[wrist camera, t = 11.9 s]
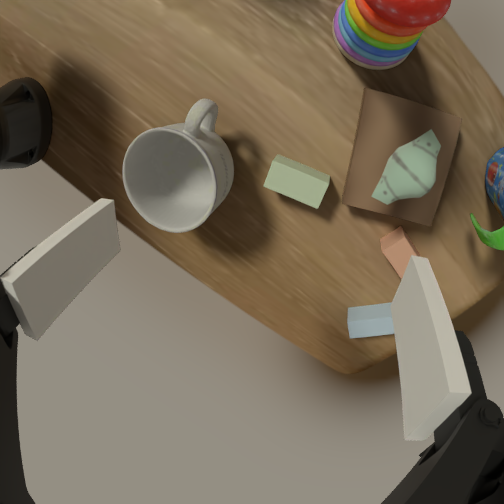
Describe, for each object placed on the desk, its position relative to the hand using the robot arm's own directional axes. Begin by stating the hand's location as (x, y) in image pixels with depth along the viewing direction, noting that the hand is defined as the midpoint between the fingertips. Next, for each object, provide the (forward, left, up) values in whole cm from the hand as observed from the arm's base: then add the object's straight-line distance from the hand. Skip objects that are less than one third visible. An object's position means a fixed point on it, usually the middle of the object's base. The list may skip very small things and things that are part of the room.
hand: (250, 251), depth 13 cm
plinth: (+10, +1, -22) cm, 25 cm away
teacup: (-11, -3, -23) cm, 25 cm away
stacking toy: (+5, +13, -23) cm, 27 cm away
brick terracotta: (+14, -10, -23) cm, 28 cm away
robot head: (+10, +1, -20) cm, 22 cm away
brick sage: (0, -4, -23) cm, 23 cm away
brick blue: (+13, -20, -23) cm, 33 cm away
